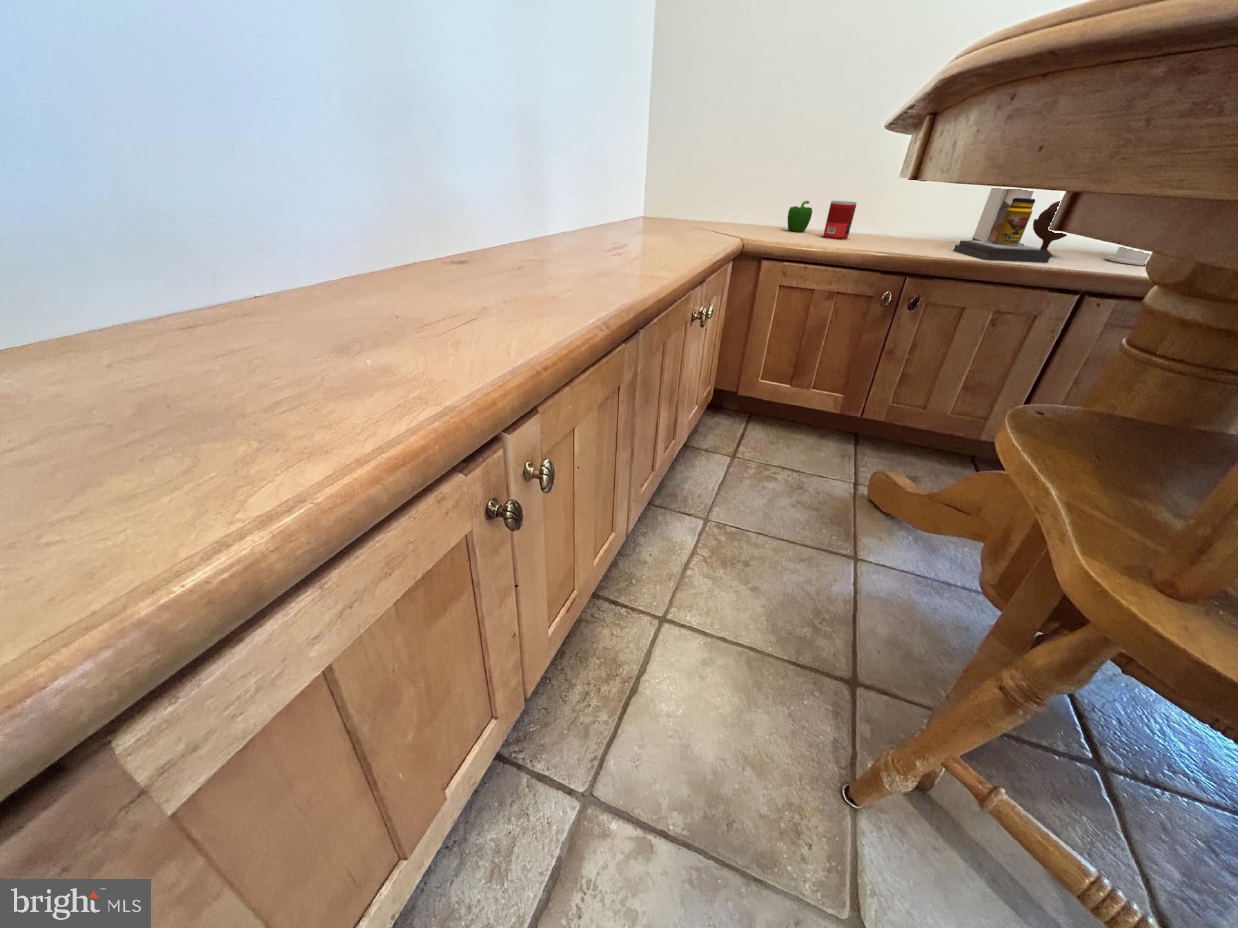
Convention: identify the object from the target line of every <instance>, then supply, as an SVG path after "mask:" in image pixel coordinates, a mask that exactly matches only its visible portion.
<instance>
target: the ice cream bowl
mask: <svg viewBox="0 0 1238 928" xmlns="http://www.w3.org/2000/svg"><path fill="white" fill-rule="evenodd" d="M1060 201H1061V200H1057V201H1055V202H1053V203H1051V204H1050V205H1049V206H1048V207H1047V208H1046V209H1044V210H1043V211H1042V212H1041V213H1040V214H1039V215H1038V218H1034V219H1033V223H1032V230H1033V232H1034V234H1035V235H1036V237H1038V238H1039V239H1040V240H1042V244H1041V246H1040V247H1039V249H1042V250H1046V251H1049V250H1048V248H1049V246H1050V245H1051V243H1052V242H1054V241H1057V240H1061V239H1064V238H1065V237H1067V236H1068V235H1066V234H1063V233H1054V232H1052V231H1049V230H1048V227H1049V226H1050V223H1051V222H1052V219H1053V217H1054V215H1055V212H1056V211H1057V207H1058V206H1059V203H1060ZM1047 256H1051V257H1053V254H1052V253H1051V252H1050V251H1049V253H1048V255H1047Z"/></svg>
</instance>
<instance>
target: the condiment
mask: <svg viewBox="0 0 1238 928" xmlns="http://www.w3.org/2000/svg"><path fill="white" fill-rule="evenodd" d="M1035 203H1036V199H1035V198H1031V199H1028V198H1014V199H1013V200H1012V203H1011V205H1010V208H1008V209H1007V211H1006V214H1005V216H1004V219H1003V221H1002V224H1001V226H1000V229H999V231H998V234H997V236H996V239H995V241H985V242H989V243H993V244H999V245H1005V246H1021V244H1022V243H1021V240H1022V237H1023V235H1024V233H1025V231H1026V228H1027V226H1028V223H1029V221H1030V218H1031V216H1032V214H1033V207H1034V204H1035ZM982 242H984V241H982ZM1018 243H1021V244H1018Z"/></svg>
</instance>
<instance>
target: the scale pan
mask: <svg viewBox="0 0 1238 928" xmlns="http://www.w3.org/2000/svg"><path fill="white" fill-rule="evenodd" d="M967 241H968V242H972V243H976V244H980V245H984V246H988V247H992V248H1002V249H1025V250H1041V249H1040V247H1033V246H1030V245H1026V244H1024V245H1021V246H1005V245H999V244H993V243H989V242H985V241H984V242H982V241H972V239H970V240H967Z"/></svg>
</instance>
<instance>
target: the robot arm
mask: <svg viewBox="0 0 1238 928" xmlns="http://www.w3.org/2000/svg"><path fill="white" fill-rule="evenodd" d="M1149 256H1150V254H1149V253H1144V252H1142V251H1135V250H1133V249H1127V248H1124V247H1120V246H1119V247H1118V248H1117V251H1116V252H1115V254H1108V255H1107V256H1106V260H1107V261H1110V262H1114V263H1120V264H1127V265H1135V266H1144V264H1145V262H1146V260H1147V259H1148V257H1149Z"/></svg>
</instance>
